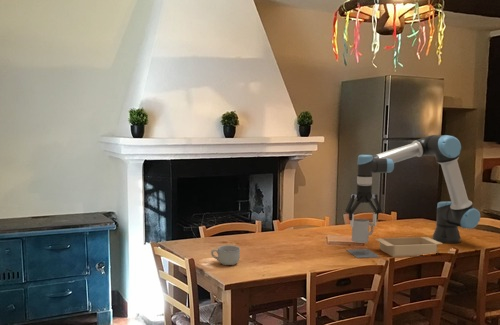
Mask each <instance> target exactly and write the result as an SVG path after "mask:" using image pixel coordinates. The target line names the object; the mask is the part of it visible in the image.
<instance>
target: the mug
mask: <svg viewBox="0 0 500 325" xmlns="http://www.w3.org/2000/svg"><path fill="white" fill-rule="evenodd" d="M369 227H370V228H369ZM351 228H352V229H351V241H352V242H353V243H358V244H366V243H369V241H370V240H369V236H371V235H373V233H374V226H373V222H370V220H369V219H366V218H354V227H351ZM369 230H370V231H369Z"/></svg>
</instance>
